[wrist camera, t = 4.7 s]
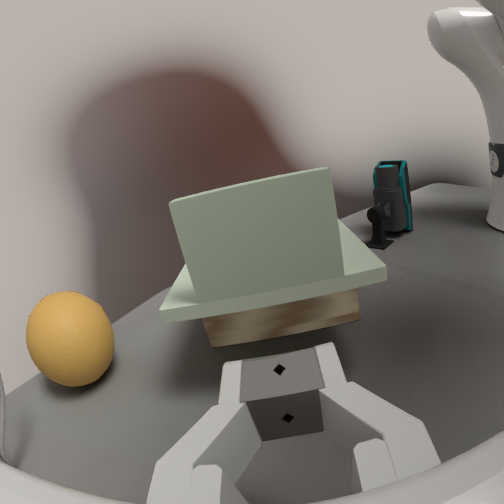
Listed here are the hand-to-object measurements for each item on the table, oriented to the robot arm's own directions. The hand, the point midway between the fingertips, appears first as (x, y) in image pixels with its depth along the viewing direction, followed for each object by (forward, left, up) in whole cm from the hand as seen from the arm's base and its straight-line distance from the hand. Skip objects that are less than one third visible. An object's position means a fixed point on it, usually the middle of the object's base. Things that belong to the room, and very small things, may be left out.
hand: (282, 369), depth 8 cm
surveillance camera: (-6, -42, -12) cm, 44 cm away
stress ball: (+25, -7, -12) cm, 28 cm away
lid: (+6, -16, -3) cm, 17 cm away
